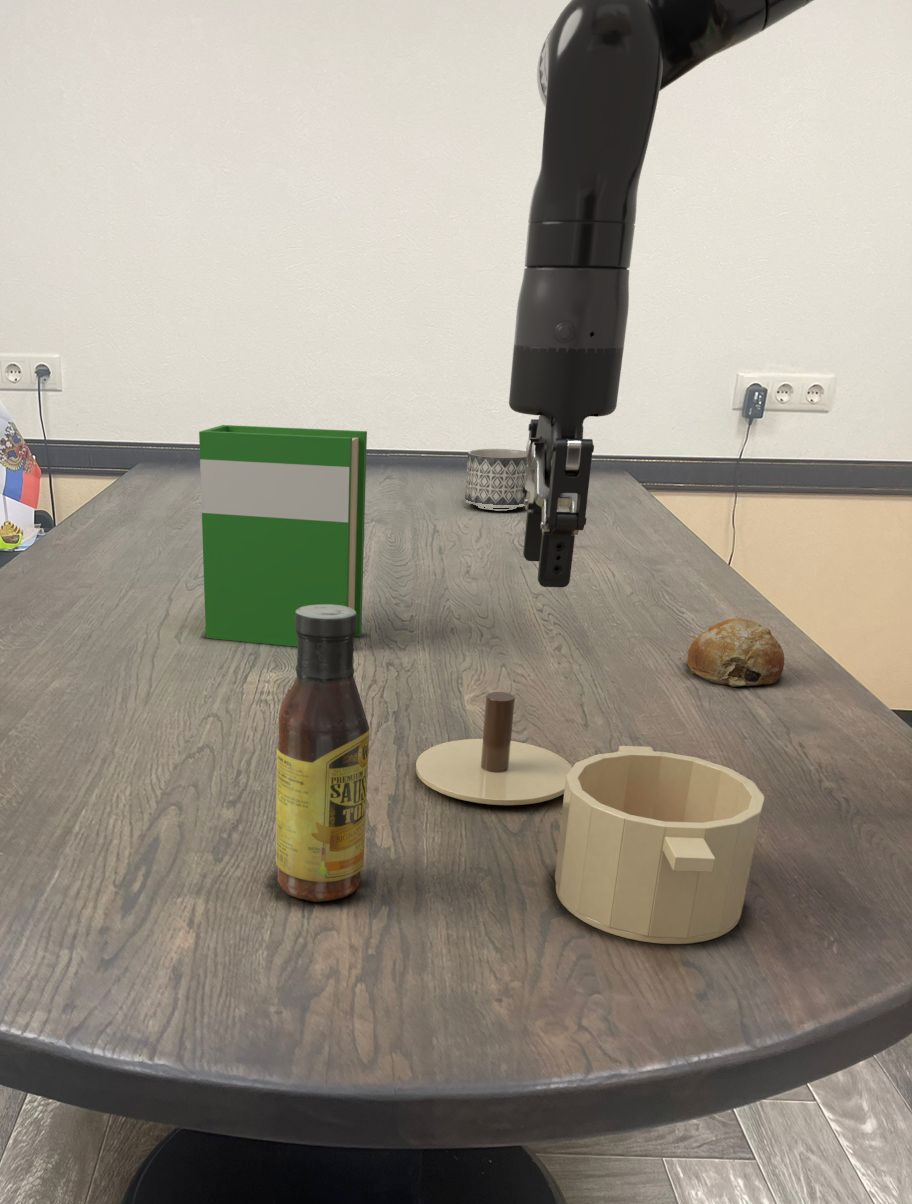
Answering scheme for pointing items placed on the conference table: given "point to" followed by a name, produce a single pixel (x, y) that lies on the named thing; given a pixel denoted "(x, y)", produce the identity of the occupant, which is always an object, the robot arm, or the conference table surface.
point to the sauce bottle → (322, 762)
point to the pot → (656, 845)
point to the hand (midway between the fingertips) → (544, 572)
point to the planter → (495, 476)
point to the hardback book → (280, 527)
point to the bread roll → (736, 654)
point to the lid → (494, 763)
